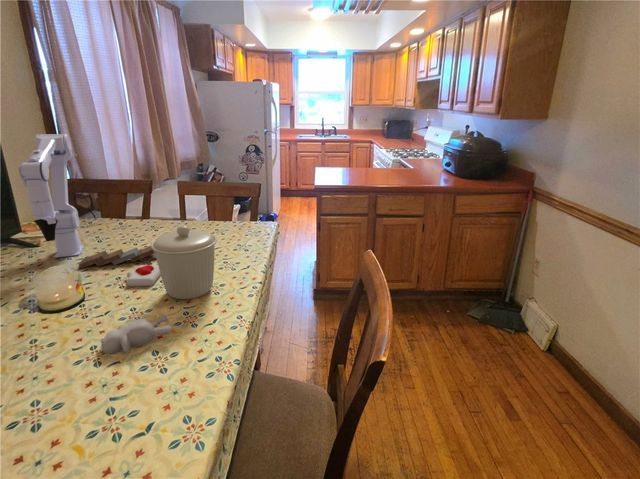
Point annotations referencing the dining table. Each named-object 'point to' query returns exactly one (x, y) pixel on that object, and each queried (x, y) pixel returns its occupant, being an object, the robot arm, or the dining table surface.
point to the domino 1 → (93, 259)
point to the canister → (186, 261)
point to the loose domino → (126, 256)
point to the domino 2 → (111, 257)
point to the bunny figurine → (133, 335)
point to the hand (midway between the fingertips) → (50, 240)
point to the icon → (143, 275)
